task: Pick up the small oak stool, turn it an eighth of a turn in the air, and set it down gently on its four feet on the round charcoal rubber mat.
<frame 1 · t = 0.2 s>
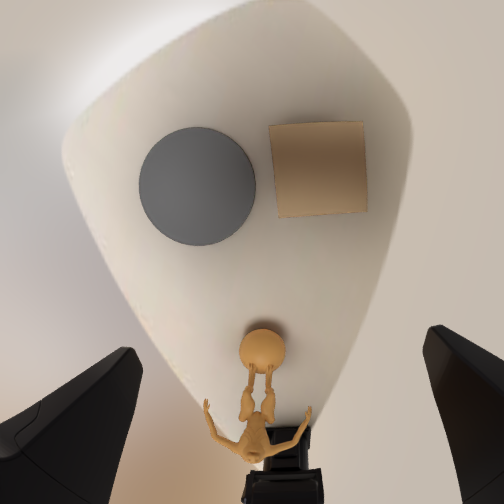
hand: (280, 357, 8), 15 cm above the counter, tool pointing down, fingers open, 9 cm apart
charcoal mat: (194, 187, 21), on the counter
oak stool: (309, 161, 19), on the counter
figurine: (262, 344, 26), on the counter
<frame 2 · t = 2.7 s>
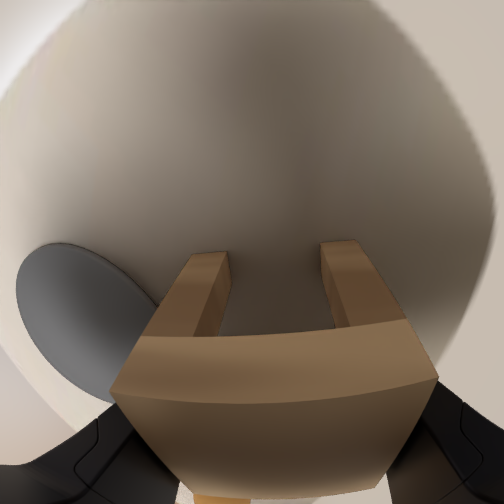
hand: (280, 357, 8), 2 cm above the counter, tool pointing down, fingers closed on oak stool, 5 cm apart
charcoal mat: (88, 336, 11), on the counter
oak stool: (280, 316, 9), on the counter, touching gripper
figurine: (226, 478, 16), on the counter
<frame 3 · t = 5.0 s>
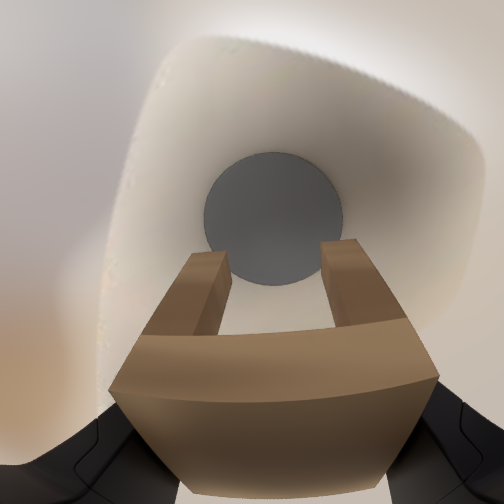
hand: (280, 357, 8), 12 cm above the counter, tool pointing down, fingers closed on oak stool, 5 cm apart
charcoal mat: (273, 221, 18), on the counter
oak stool: (280, 315, 9), point 10 cm above the counter, touching gripper
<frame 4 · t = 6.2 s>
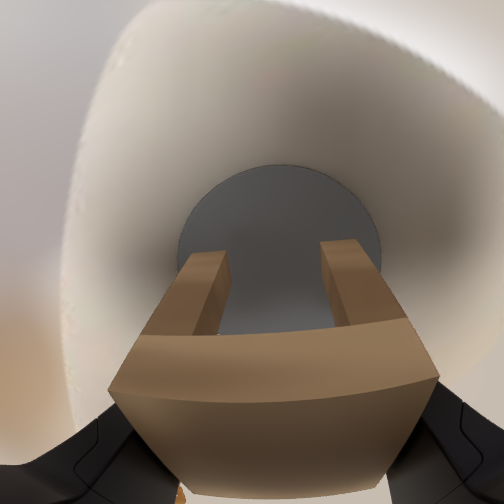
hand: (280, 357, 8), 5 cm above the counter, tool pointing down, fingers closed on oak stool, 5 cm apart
charcoal mat: (280, 269, 12), on the counter
oak stool: (279, 315, 9), point 3 cm above the counter, touching gripper
when the fingers open (4 cm above the counter, at t = 7.4 s): oak stool drops 1 cm, resting on charcoal mat.
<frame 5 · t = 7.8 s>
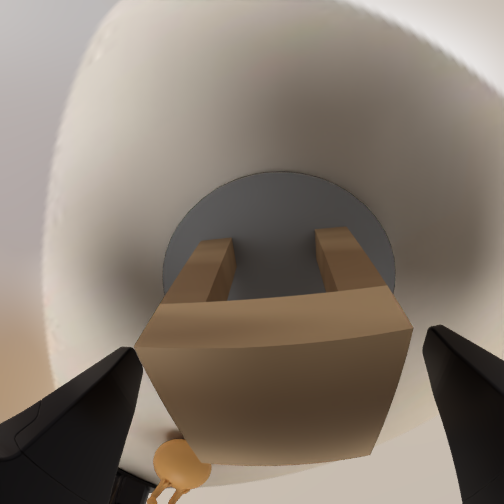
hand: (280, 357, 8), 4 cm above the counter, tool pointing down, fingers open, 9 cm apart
charcoal mat: (279, 291, 11), on the counter
oak stool: (279, 297, 10), resting on charcoal mat
figurine: (180, 442, 17), on the counter
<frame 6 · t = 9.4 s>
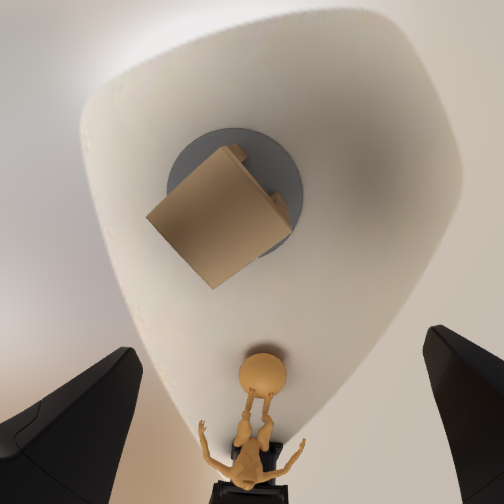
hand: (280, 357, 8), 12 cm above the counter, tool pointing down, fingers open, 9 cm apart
charcoal mat: (233, 196, 18), on the counter
oak stool: (232, 197, 18), resting on charcoal mat
figurine: (260, 365, 25), on the counter
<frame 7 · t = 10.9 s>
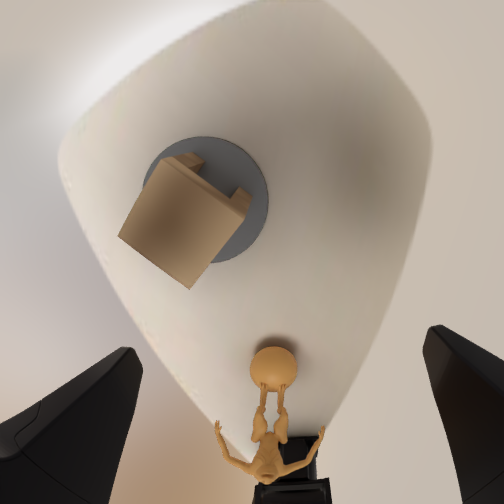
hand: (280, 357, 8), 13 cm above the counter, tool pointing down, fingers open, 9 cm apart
charcoal mat: (202, 201, 19), on the counter
oak stool: (201, 202, 19), resting on charcoal mat
figurine: (273, 359, 25), on the counter
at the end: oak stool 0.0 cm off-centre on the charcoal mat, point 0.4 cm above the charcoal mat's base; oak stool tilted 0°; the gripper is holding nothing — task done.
